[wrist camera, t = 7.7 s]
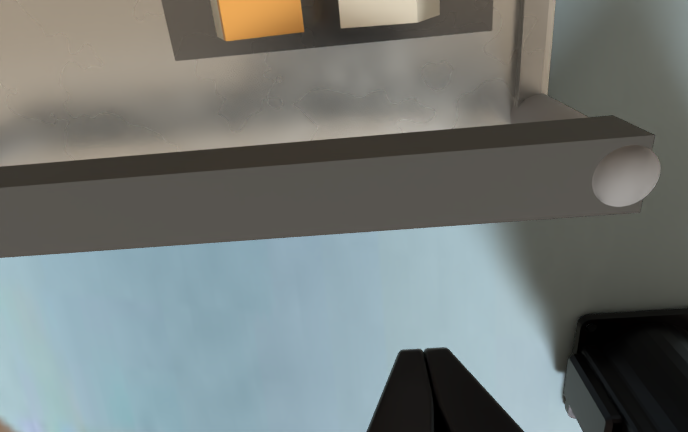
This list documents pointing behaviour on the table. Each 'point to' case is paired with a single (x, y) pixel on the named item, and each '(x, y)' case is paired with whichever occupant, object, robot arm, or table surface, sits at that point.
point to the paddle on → (385, 12)
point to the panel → (253, 76)
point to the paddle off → (256, 18)
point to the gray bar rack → (333, 185)
